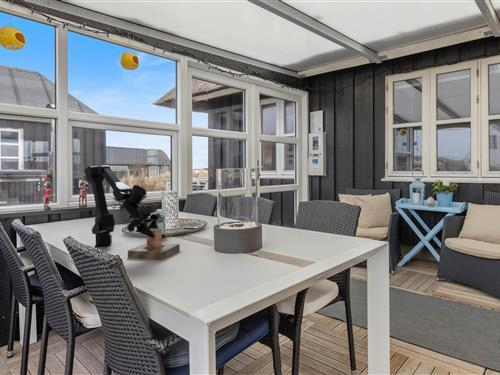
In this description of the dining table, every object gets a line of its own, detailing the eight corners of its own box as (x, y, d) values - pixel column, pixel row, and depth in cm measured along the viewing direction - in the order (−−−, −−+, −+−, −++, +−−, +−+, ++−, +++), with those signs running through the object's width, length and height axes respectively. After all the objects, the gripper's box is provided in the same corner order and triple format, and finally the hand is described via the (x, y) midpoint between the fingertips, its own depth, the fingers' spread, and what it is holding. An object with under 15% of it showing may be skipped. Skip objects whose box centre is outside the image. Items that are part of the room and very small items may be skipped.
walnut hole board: (128, 257, 146) (127, 250, 146) (148, 248, 161) (148, 241, 161) (161, 259, 142) (161, 252, 141) (179, 250, 157) (179, 243, 157)
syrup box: (156, 237, 185) (156, 210, 184) (150, 235, 189) (149, 209, 188) (165, 235, 190) (164, 209, 189) (158, 234, 193) (157, 208, 192)
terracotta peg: (147, 252, 150) (146, 230, 149) (152, 250, 154) (152, 228, 153) (156, 253, 149) (155, 230, 148) (161, 250, 153) (161, 228, 152)
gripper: (132, 200, 142) (156, 227, 140) (156, 195, 160) (178, 220, 157) (116, 218, 145) (140, 245, 142) (142, 212, 162) (163, 236, 160)
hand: (156, 236), depth 150 cm, fingers closed on terracotta peg, 5 cm apart
